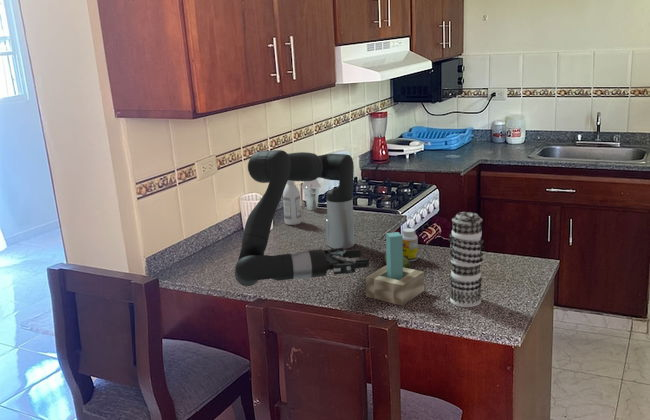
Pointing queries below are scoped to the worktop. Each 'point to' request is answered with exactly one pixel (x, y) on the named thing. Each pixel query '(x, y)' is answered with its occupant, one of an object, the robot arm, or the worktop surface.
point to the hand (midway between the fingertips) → (364, 257)
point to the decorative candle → (466, 259)
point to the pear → (405, 262)
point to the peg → (394, 255)
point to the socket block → (395, 286)
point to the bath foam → (292, 204)
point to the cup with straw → (311, 193)
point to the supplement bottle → (410, 244)
